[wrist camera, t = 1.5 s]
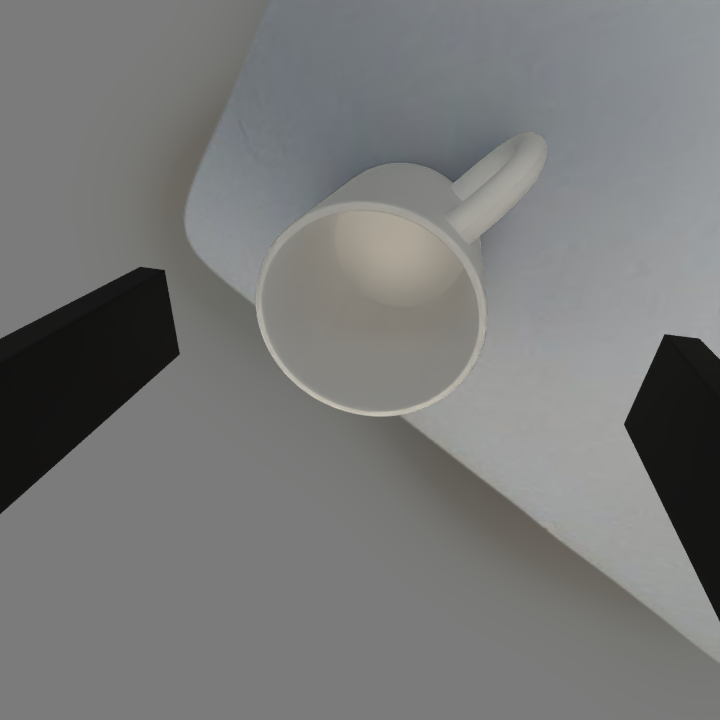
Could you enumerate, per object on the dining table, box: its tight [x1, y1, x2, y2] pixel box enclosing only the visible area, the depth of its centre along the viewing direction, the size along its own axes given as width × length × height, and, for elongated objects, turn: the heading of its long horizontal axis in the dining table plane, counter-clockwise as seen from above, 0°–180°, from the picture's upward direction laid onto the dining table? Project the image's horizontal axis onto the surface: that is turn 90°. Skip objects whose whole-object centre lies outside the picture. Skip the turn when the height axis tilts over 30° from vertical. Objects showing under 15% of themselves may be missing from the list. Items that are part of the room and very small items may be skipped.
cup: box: [256, 132, 547, 416], centre depth 19 cm, size 8×12×10 cm
